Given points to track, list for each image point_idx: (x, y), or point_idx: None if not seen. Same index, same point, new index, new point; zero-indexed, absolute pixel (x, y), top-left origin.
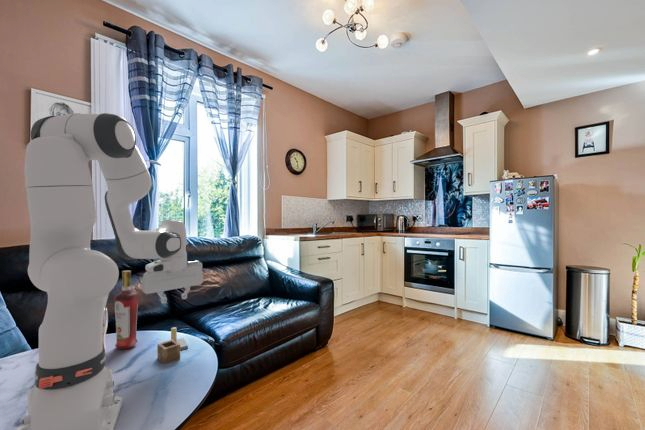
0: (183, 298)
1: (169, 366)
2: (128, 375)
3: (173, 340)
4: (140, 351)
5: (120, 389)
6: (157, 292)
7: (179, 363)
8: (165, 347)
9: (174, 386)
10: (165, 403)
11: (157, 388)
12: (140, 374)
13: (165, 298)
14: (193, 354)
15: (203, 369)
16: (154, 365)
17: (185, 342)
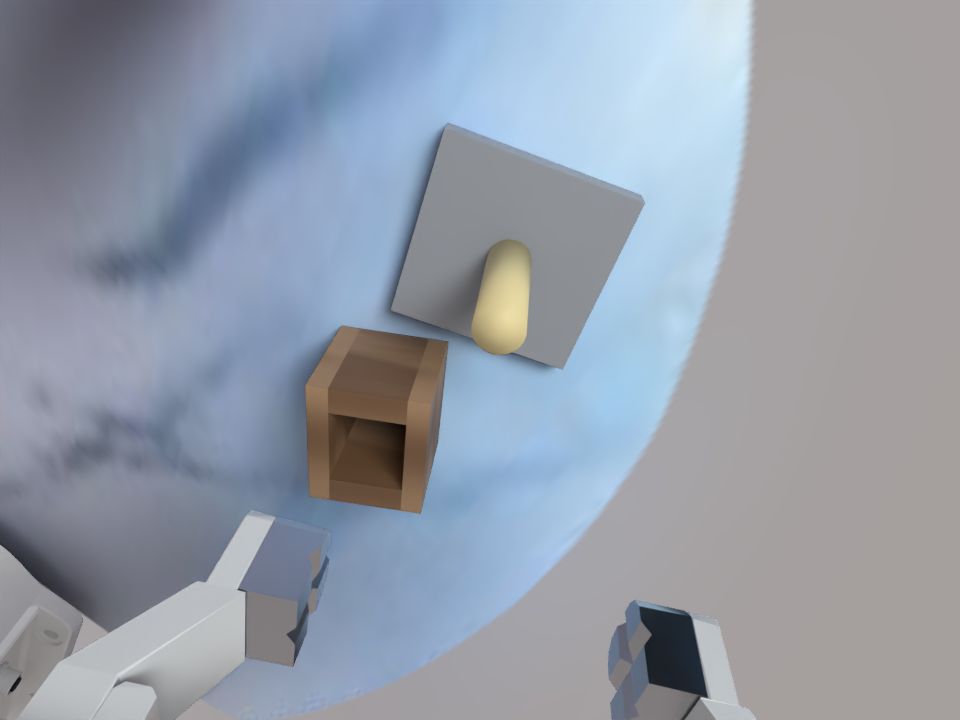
0: (615, 664)
1: None
2: (153, 371)
3: (422, 425)
4: (288, 77)
5: (108, 458)
6: (32, 699)
7: None
8: (327, 477)
9: None
10: None
11: None
12: (209, 413)
13: (267, 659)
14: (524, 456)
15: (456, 601)
16: (297, 386)
17: (588, 306)
